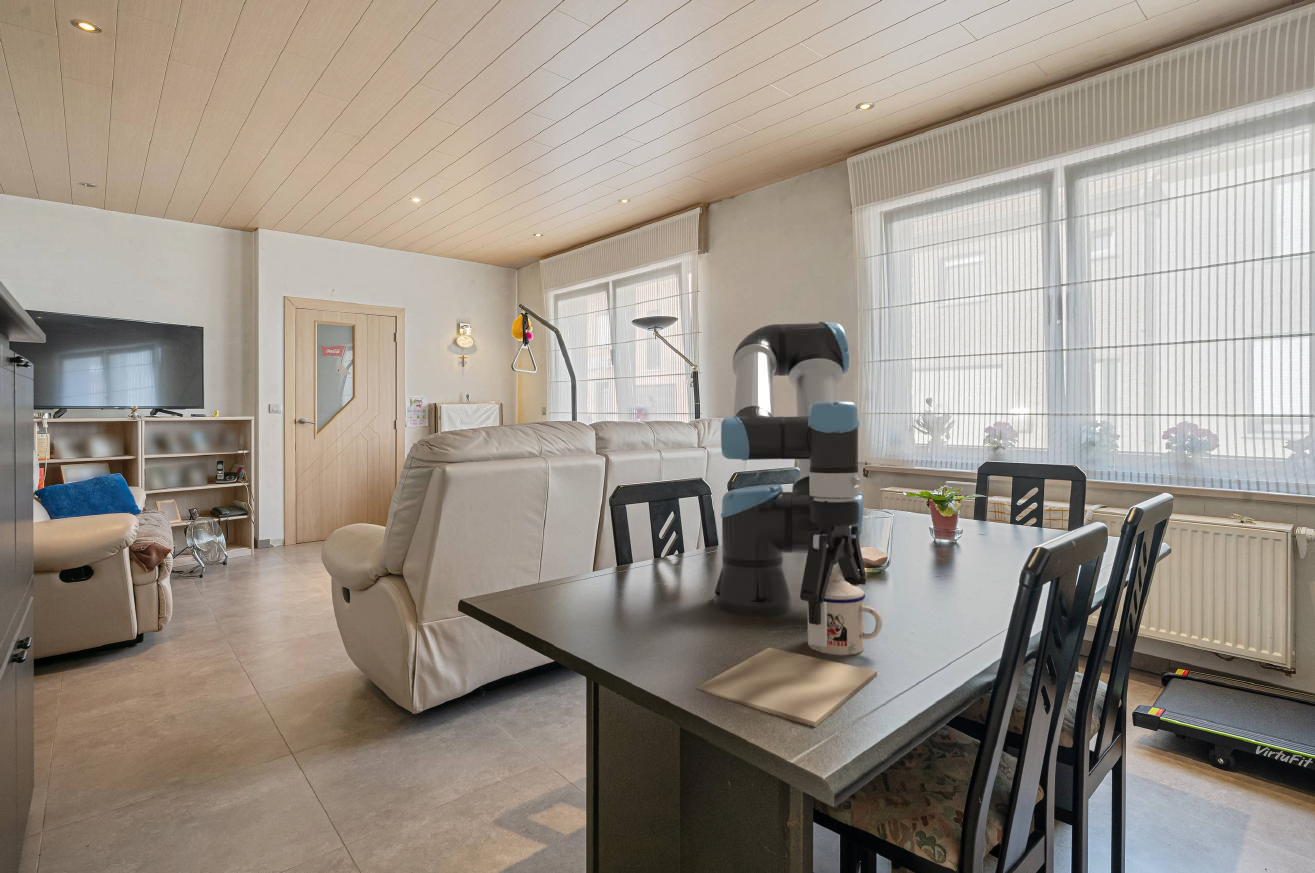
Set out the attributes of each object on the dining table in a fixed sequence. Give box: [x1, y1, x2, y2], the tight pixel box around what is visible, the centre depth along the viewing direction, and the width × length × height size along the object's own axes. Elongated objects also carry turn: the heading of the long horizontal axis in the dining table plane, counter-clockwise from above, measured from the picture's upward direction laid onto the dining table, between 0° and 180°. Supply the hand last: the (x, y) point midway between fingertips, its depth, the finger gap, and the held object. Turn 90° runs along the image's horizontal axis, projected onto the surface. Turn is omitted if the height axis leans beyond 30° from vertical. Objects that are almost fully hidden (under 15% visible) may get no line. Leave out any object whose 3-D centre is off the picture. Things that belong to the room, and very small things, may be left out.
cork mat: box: [695, 647, 878, 728], centre depth 89 cm, size 17×20×1 cm
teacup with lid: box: [806, 572, 883, 656], centre depth 103 cm, size 12×9×12 cm
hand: (835, 633), depth 103 cm, fingers open, 12 cm apart
